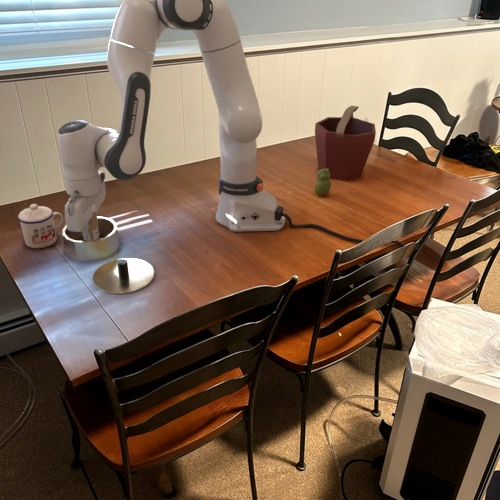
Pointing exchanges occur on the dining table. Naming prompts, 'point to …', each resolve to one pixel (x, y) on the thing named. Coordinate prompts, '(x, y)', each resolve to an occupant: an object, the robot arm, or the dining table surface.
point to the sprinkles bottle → (92, 227)
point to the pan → (92, 242)
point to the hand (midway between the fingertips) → (90, 229)
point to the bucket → (344, 144)
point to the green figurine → (323, 182)
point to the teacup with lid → (39, 226)
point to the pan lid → (123, 276)
